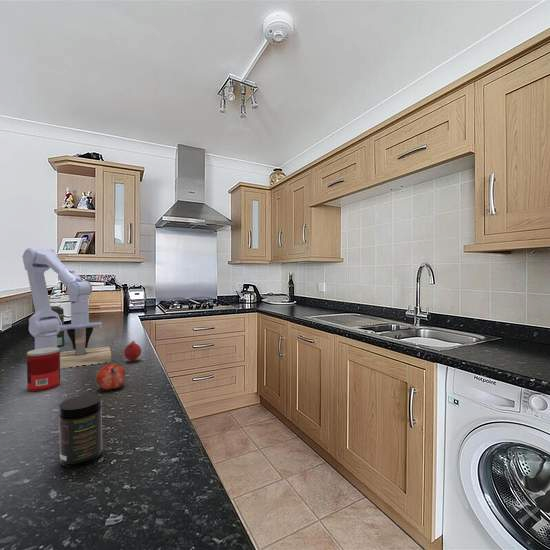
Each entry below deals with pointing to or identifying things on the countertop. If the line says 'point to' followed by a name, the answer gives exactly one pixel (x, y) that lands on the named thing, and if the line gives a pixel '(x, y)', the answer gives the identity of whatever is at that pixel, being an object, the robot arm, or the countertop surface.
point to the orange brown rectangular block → (80, 346)
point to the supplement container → (80, 430)
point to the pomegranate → (110, 376)
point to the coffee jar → (61, 315)
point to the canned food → (43, 368)
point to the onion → (132, 351)
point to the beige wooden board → (85, 357)
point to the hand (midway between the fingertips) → (80, 348)
